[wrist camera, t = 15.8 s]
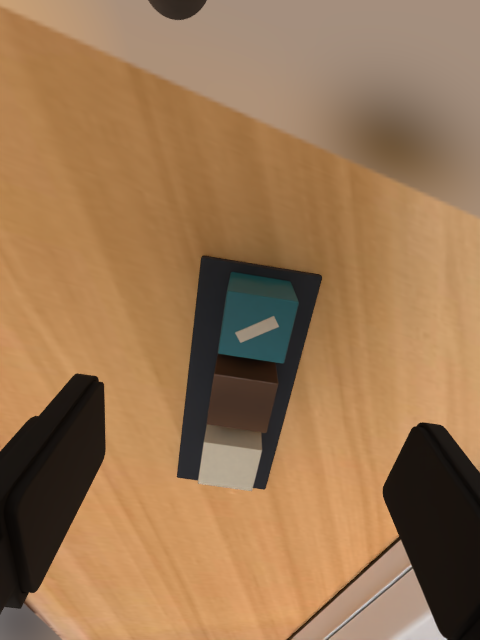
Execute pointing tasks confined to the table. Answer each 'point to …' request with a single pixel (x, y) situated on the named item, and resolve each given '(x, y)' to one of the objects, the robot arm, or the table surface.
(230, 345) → the teal dash cube
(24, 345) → the table surface
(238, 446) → the cream cube
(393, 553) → the laminator
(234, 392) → the dark brown cube
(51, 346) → the table surface
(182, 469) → the dark navy strip
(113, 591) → the table surface
